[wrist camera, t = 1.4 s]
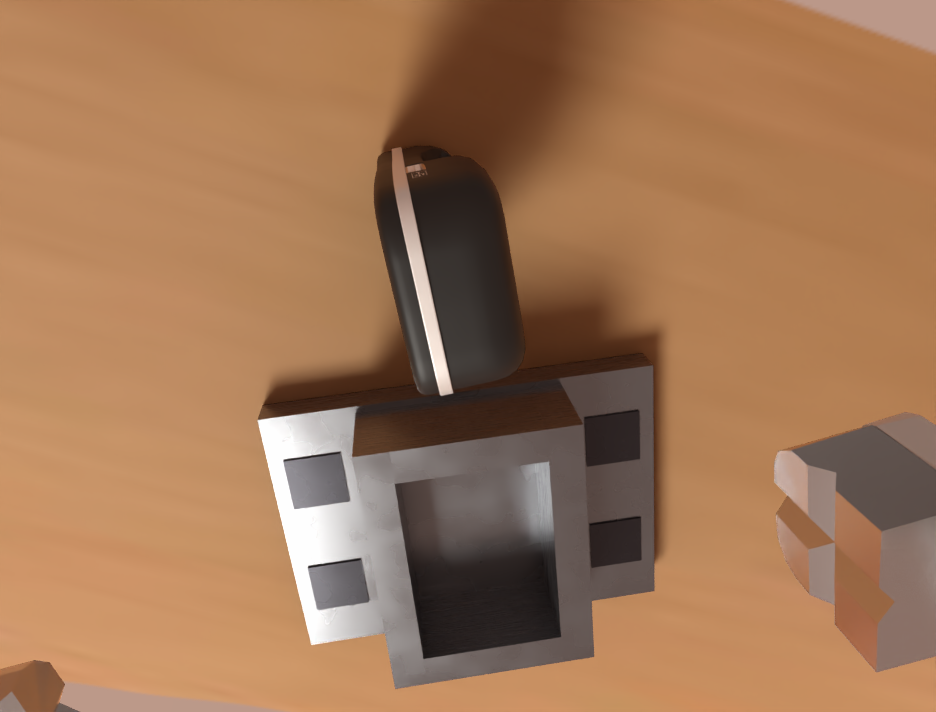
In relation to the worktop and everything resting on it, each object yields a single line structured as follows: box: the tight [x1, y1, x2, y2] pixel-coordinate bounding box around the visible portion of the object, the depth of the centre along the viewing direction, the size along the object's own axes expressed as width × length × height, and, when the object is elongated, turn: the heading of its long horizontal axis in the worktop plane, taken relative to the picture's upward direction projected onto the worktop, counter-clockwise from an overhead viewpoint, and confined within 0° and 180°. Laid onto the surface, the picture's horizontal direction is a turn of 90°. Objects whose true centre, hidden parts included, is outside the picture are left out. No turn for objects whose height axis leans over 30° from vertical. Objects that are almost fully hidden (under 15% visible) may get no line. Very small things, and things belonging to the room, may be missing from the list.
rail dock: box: [258, 353, 654, 689], centre depth 34 cm, size 18×13×6 cm
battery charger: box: [374, 146, 525, 396], centre depth 26 cm, size 7×4×11 cm, turn 11°
